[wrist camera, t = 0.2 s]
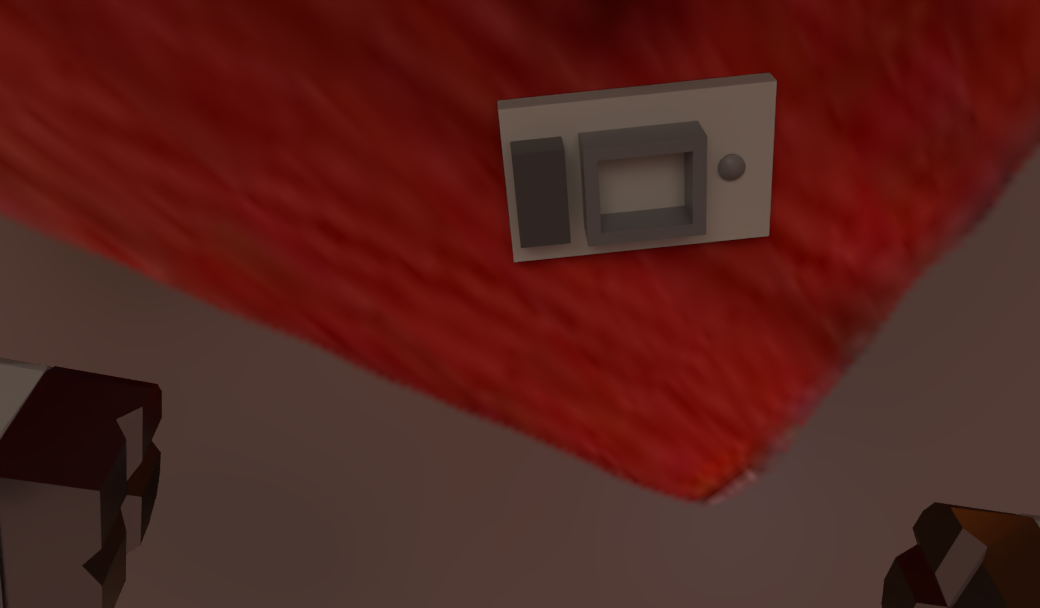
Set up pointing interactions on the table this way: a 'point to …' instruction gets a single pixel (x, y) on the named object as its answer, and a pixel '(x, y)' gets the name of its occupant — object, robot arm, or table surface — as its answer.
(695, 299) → the table surface
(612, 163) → the chassis
